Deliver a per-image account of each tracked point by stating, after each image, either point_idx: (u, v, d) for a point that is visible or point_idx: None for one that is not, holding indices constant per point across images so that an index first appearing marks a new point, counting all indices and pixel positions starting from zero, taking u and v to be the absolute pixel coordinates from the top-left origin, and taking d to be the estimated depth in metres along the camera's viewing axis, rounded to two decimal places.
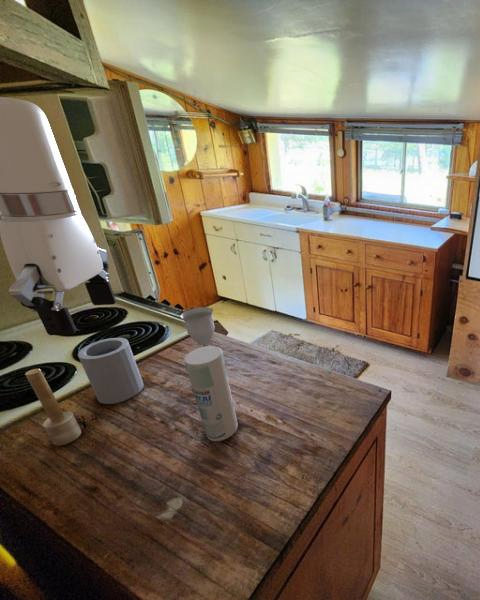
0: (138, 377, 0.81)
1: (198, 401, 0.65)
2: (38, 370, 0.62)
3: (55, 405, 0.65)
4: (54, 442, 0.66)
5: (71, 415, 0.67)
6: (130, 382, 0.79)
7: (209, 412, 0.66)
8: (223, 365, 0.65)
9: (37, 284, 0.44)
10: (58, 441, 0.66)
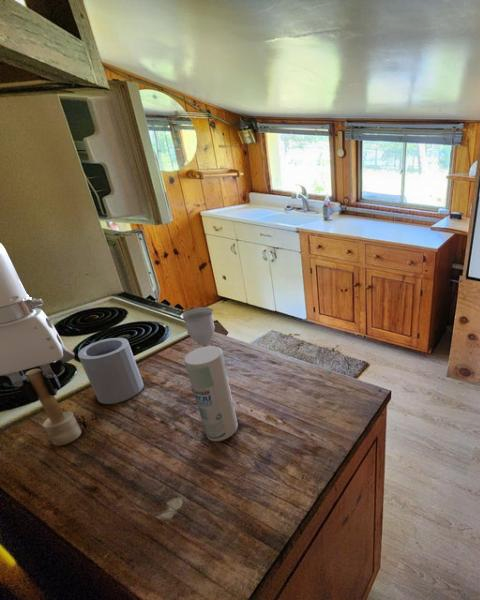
0: (138, 377, 0.81)
1: (198, 401, 0.65)
2: (39, 370, 0.62)
3: (55, 405, 0.65)
4: (54, 442, 0.66)
5: (71, 415, 0.67)
6: (130, 382, 0.79)
7: (209, 412, 0.66)
8: (223, 365, 0.65)
9: None
10: (58, 441, 0.66)
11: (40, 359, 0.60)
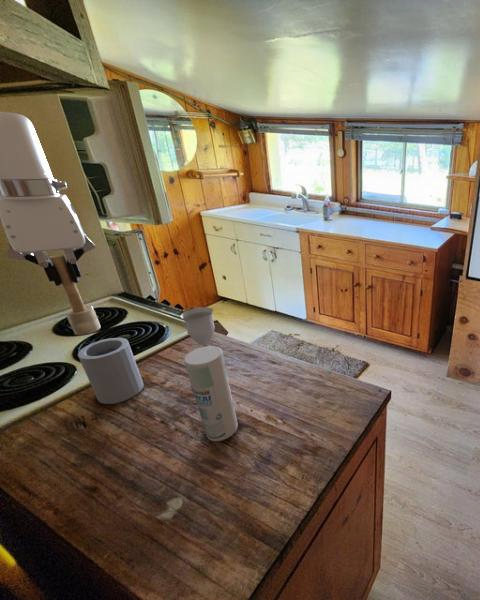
0: (138, 377, 0.81)
1: (198, 401, 0.65)
2: (62, 255, 0.65)
3: (77, 293, 0.68)
4: (76, 331, 0.69)
5: (91, 307, 0.71)
6: (130, 382, 0.79)
7: (209, 412, 0.66)
8: (223, 365, 0.65)
9: None
10: (79, 330, 0.69)
11: (64, 241, 0.63)
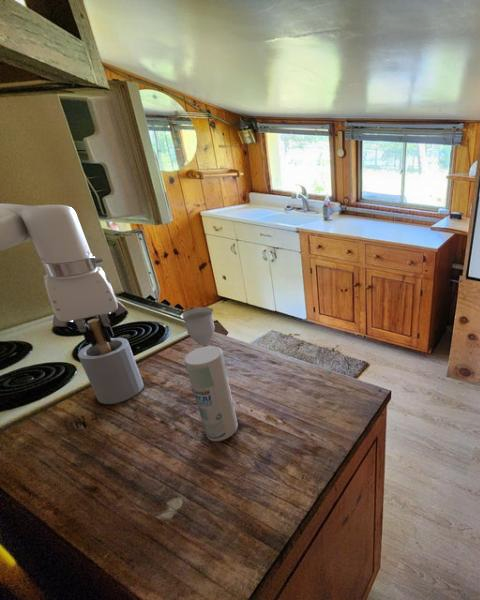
0: (138, 377, 0.81)
1: (198, 401, 0.65)
2: (98, 319, 0.73)
3: (109, 351, 0.76)
4: None
5: None
6: (130, 382, 0.79)
7: (209, 412, 0.66)
8: (223, 365, 0.65)
9: None
10: None
11: (100, 309, 0.71)
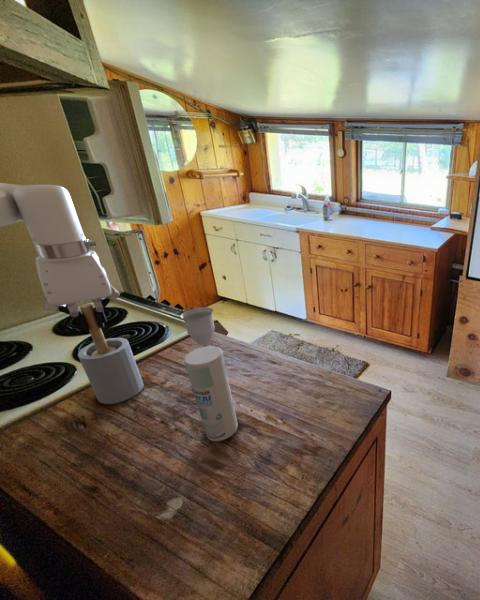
0: (138, 377, 0.81)
1: (198, 401, 0.65)
2: (90, 304, 0.72)
3: (102, 337, 0.75)
4: None
5: (114, 349, 0.77)
6: (130, 382, 0.79)
7: (209, 412, 0.66)
8: (223, 365, 0.65)
9: None
10: None
11: (93, 293, 0.70)
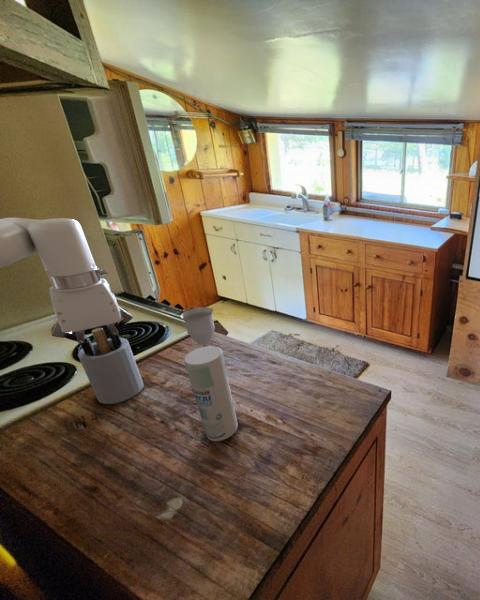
0: (138, 377, 0.81)
1: (198, 401, 0.65)
2: (101, 329, 0.74)
3: None
4: None
5: None
6: (130, 382, 0.79)
7: (209, 412, 0.66)
8: (223, 365, 0.65)
9: None
10: None
11: (104, 320, 0.73)
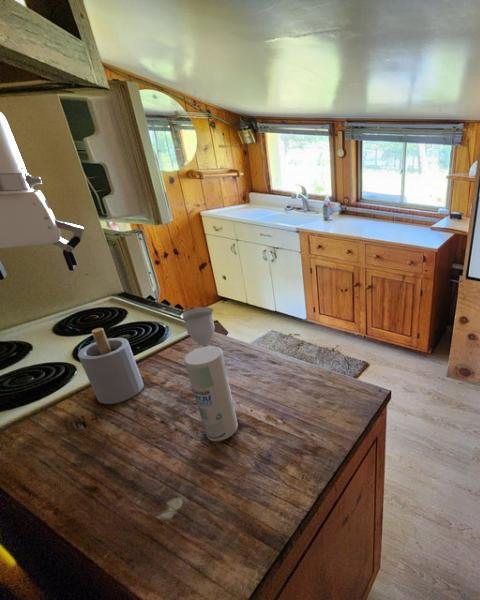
0: (138, 377, 0.81)
1: (198, 401, 0.65)
2: (101, 329, 0.74)
3: None
4: None
5: None
6: (130, 382, 0.79)
7: (209, 412, 0.66)
8: (223, 365, 0.65)
9: None
10: None
11: (38, 238, 0.62)
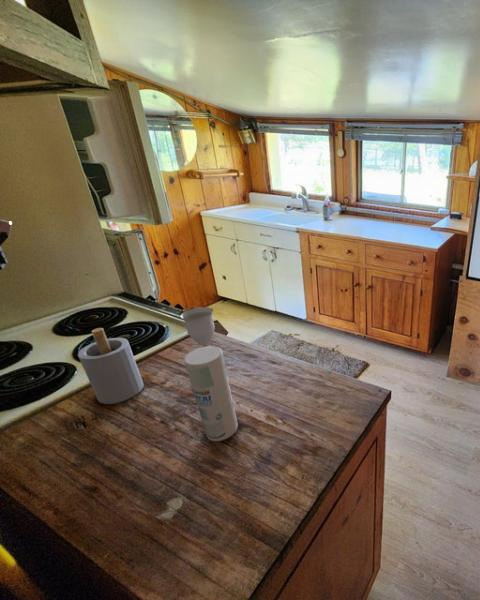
0: (138, 377, 0.81)
1: (198, 401, 0.65)
2: (101, 329, 0.74)
3: None
4: None
5: None
6: (130, 382, 0.79)
7: (209, 412, 0.66)
8: (223, 365, 0.65)
9: None
10: None
11: None
